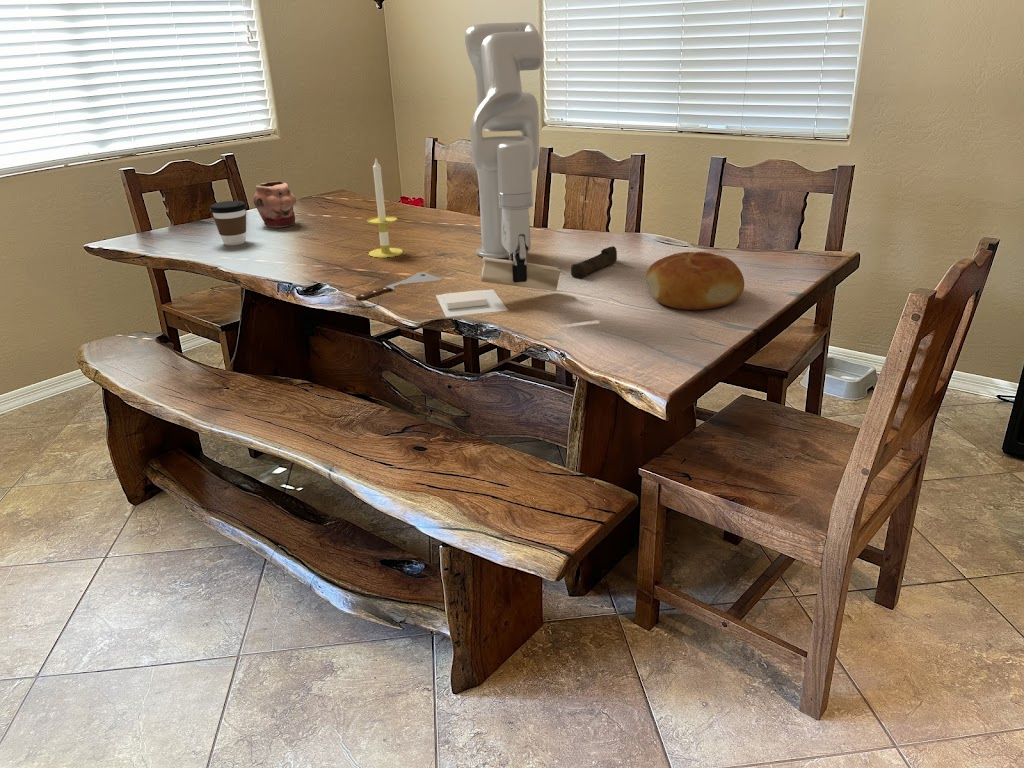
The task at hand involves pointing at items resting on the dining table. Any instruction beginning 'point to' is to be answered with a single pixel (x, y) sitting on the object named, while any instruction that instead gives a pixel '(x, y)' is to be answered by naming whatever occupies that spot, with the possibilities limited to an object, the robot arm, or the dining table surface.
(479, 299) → the tile
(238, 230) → the coffee cup
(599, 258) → the rusty brown spike
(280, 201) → the decorative planter
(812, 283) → the dining table surface
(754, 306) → the dining table surface
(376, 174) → the candle
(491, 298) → the mat
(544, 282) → the beige long bar
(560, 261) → the dining table surface
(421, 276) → the kitchen cleaver
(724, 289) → the bread
